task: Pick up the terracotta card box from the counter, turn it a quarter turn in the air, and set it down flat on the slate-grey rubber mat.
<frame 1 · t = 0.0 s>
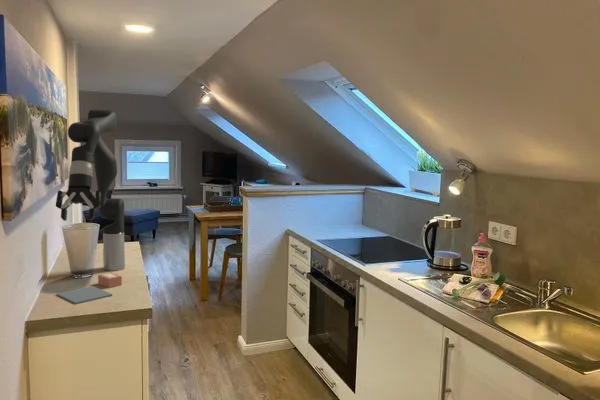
hand: (77, 220, 163), 31 cm above the countertop, fingers open, 8 cm apart
mat: (84, 295, 180), on the countertop
card box: (109, 285, 195), on the countertop
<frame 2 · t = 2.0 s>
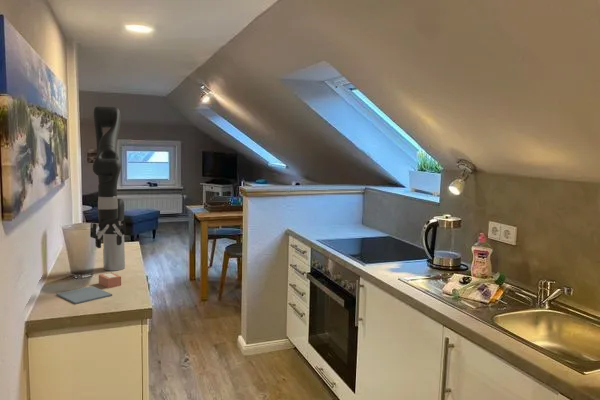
hand: (108, 246, 193), 16 cm above the countertop, fingers open, 8 cm apart
nothing on the countertop moved.
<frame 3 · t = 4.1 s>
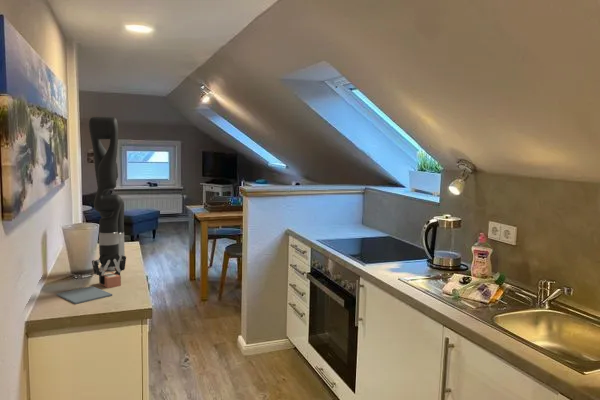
hand: (109, 282, 195), 1 cm above the countertop, fingers closed on card box, 5 cm apart
card box: (110, 284, 195), on the countertop, touching gripper
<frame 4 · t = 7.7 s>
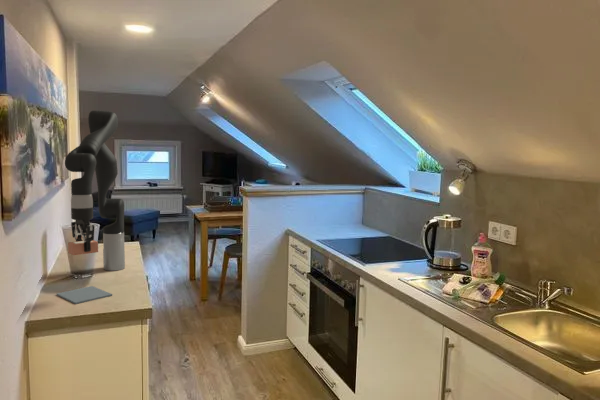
hand: (83, 250, 178), 18 cm above the countertop, fingers closed on card box, 5 cm apart
card box: (83, 252, 178), point 17 cm above the countertop, touching gripper
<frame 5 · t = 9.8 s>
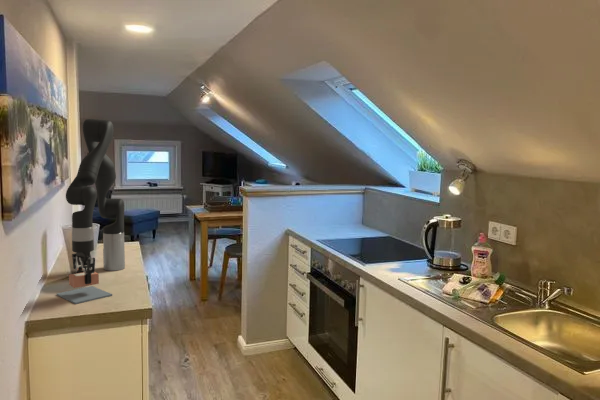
hand: (84, 282, 179), 5 cm above the countertop, fingers closed on card box, 5 cm apart
card box: (84, 284, 179), point 4 cm above the countertop, touching gripper
when the fingers open (3 cm above the countertop, at t = 11.3 s): card box drops 1 cm, resting on mat.
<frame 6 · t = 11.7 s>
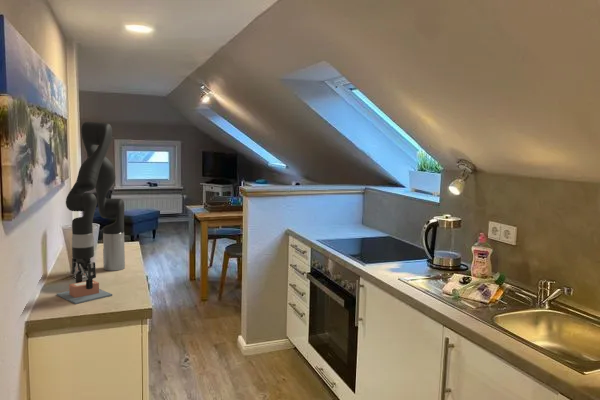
hand: (84, 286, 179), 3 cm above the countertop, fingers open, 8 cm apart
card box: (84, 293, 180), point 1 cm above the countertop, touching mat
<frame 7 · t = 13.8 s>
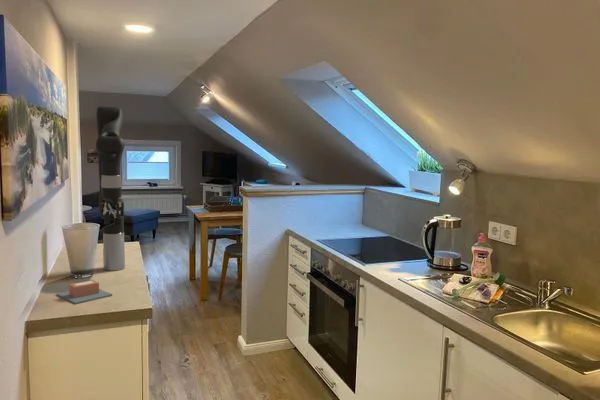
hand: (112, 225, 192), 25 cm above the countertop, fingers open, 8 cm apart
nothing on the countertop moved.
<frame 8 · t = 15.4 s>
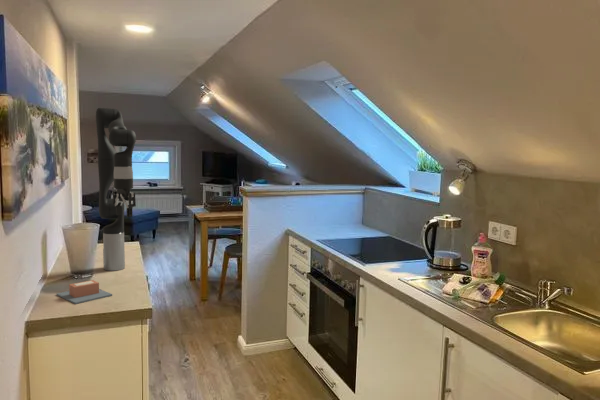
hand: (124, 215, 197), 28 cm above the countertop, fingers open, 8 cm apart
nothing on the countertop moved.
at the end: card box inside the target area on the mat (0.0 cm from its centre), point 0.6 cm above the mat's base; card box tilted 0°; the gripper is holding nothing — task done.
